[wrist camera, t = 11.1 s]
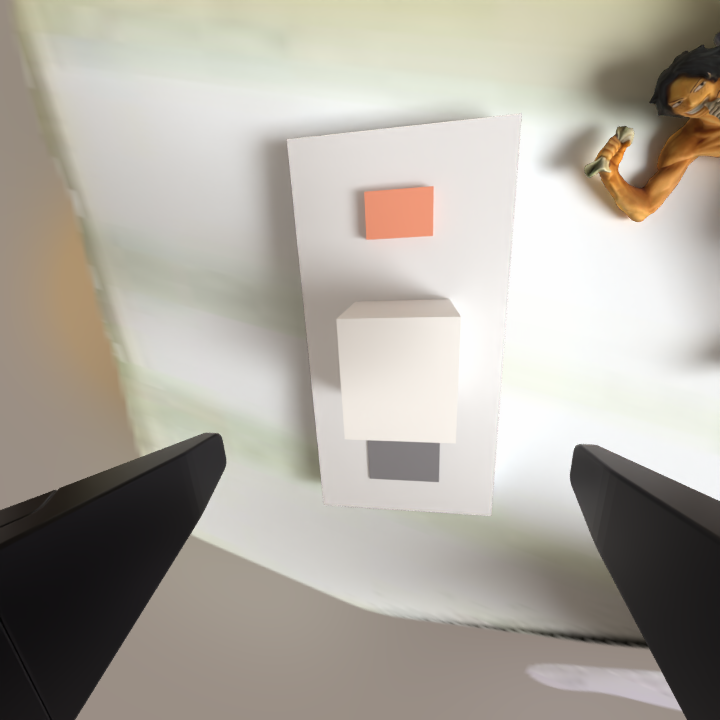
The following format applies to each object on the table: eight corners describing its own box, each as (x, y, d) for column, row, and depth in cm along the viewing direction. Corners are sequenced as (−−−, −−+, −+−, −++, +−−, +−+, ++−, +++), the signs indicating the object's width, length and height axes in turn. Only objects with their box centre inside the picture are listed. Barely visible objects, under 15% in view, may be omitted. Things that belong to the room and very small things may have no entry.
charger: (443, 384, 20) (455, 443, 14) (365, 383, 21) (344, 439, 15) (446, 293, 19) (460, 316, 13) (361, 296, 19) (336, 319, 13)
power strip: (484, 492, 22) (493, 523, 20) (330, 484, 24) (321, 512, 21) (509, 128, 16) (526, 107, 14) (300, 150, 18) (281, 135, 15)
